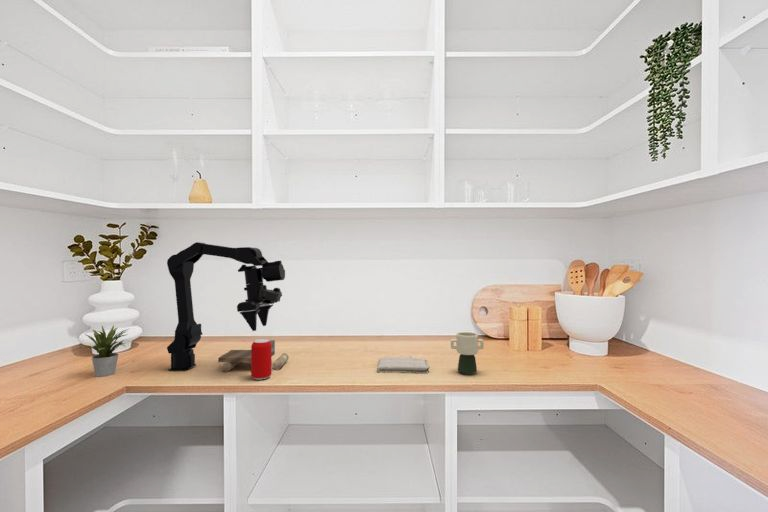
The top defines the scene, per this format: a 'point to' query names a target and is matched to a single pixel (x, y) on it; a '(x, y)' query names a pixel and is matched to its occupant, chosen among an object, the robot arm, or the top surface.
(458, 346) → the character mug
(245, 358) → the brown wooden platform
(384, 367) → the washcloth
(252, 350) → the beverage can
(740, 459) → the top surface
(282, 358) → the roller
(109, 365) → the house plant
